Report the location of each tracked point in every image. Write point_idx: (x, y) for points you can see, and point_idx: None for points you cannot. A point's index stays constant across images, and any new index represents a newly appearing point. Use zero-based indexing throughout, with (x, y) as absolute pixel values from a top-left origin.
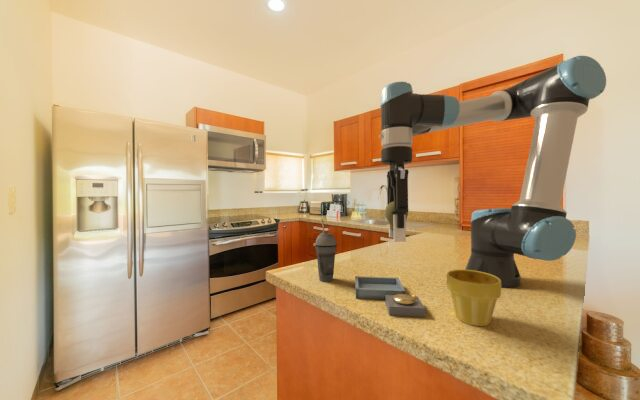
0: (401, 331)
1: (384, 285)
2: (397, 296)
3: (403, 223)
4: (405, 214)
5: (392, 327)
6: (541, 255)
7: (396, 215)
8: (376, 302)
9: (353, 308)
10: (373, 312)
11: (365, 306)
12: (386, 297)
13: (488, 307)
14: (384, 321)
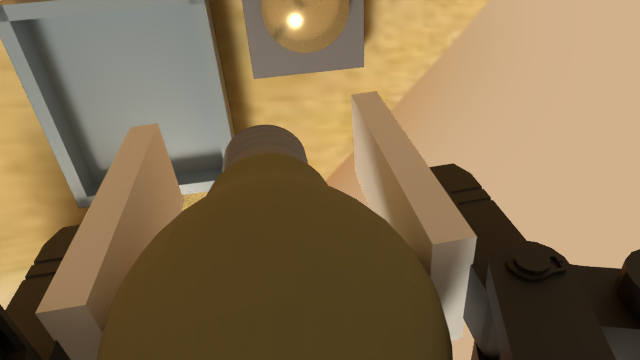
0: (456, 25)
1: (77, 73)
2: (294, 35)
3: (481, 195)
4: (520, 243)
5: (434, 51)
6: None
7: (460, 313)
8: (258, 100)
9: (323, 165)
10: (342, 107)
11: (301, 133)
12: (279, 74)
13: None
14: (399, 73)
